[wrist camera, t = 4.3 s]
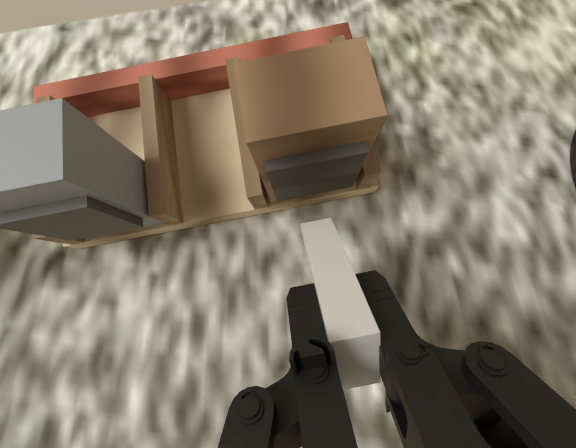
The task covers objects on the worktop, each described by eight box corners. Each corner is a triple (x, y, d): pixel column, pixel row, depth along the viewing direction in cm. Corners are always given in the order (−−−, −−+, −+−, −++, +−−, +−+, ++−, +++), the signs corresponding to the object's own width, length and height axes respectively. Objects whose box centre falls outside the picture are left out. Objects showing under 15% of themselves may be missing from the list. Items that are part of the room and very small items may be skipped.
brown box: (340, 137, 22) (364, 36, 13) (354, 194, 21) (391, 127, 12) (262, 152, 22) (233, 62, 13) (272, 210, 21) (248, 155, 12)
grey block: (160, 172, 22) (62, 97, 13) (165, 231, 21) (63, 192, 12) (84, 187, 22) (-64, 123, 13) (85, 246, 21) (-73, 218, 12)
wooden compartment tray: (341, 63, 25) (348, 15, 21) (374, 192, 22) (391, 169, 18) (75, 116, 25) (27, 82, 21) (78, 248, 23) (24, 240, 18)
